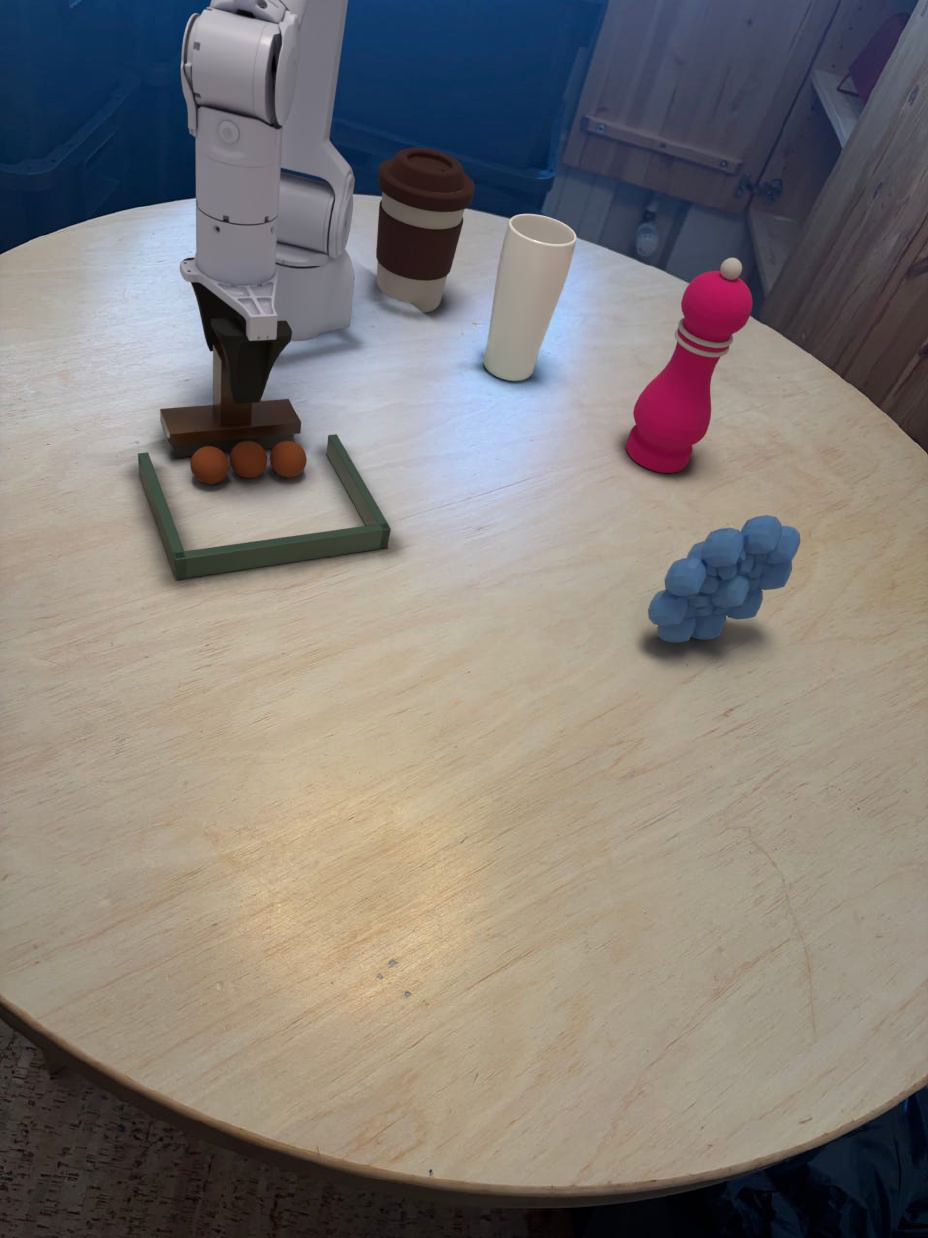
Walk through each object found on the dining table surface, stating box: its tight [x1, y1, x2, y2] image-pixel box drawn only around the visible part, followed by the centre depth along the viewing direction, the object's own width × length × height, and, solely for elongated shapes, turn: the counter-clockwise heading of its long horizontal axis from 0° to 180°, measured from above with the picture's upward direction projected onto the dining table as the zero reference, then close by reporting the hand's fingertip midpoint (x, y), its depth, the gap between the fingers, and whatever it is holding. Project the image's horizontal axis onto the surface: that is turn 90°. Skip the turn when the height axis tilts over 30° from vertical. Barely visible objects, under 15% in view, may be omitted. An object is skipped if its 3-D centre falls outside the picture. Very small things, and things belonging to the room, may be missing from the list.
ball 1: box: [190, 446, 230, 485], centre depth 76 cm, size 3×3×3 cm
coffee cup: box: [375, 147, 476, 314], centre depth 101 cm, size 10×10×15 cm
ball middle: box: [229, 441, 268, 479], centre depth 78 cm, size 3×3×3 cm
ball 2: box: [269, 441, 308, 478], centre depth 79 cm, size 3×3×3 cm
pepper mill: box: [625, 257, 753, 474], centre depth 86 cm, size 7×7×20 cm
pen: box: [137, 433, 392, 581], centre depth 75 cm, size 13×17×2 cm
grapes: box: [647, 514, 801, 644], centre depth 72 cm, size 12×7×12 cm, turn 112°
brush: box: [159, 344, 302, 459], centre depth 79 cm, size 4×11×9 cm, turn 115°
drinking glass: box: [483, 213, 578, 382], centre depth 94 cm, size 7×7×15 cm
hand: (233, 373), depth 77 cm, fingers open, 7 cm apart
